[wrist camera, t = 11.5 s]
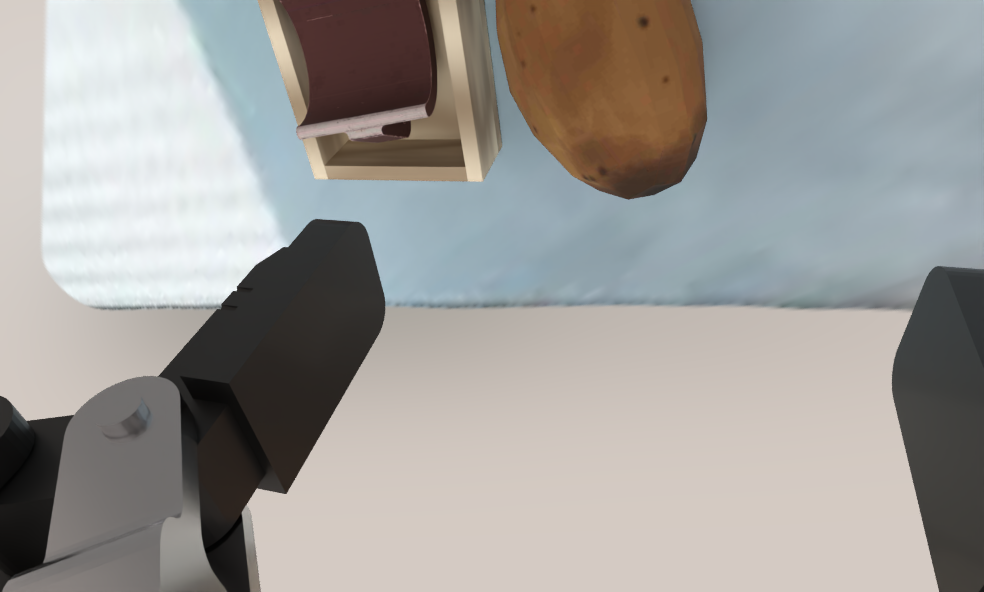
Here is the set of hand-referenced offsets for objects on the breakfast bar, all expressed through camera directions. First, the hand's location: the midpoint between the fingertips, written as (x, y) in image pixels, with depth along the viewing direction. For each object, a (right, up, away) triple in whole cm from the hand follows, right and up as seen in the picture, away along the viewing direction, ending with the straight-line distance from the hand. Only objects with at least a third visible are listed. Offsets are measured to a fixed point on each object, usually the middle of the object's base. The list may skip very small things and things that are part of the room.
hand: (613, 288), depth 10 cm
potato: (+3, +13, +21) cm, 25 cm away
